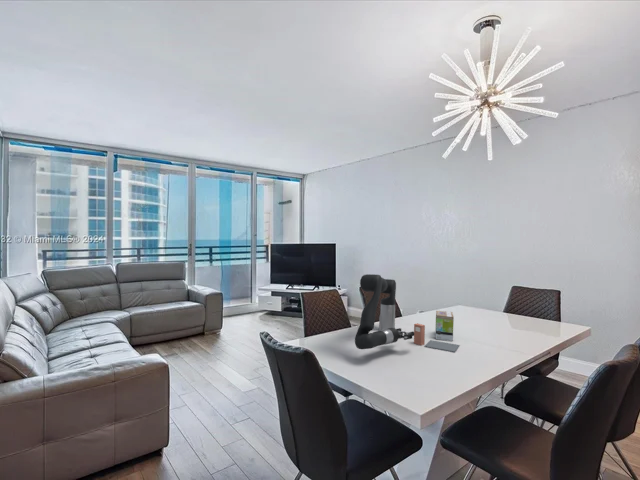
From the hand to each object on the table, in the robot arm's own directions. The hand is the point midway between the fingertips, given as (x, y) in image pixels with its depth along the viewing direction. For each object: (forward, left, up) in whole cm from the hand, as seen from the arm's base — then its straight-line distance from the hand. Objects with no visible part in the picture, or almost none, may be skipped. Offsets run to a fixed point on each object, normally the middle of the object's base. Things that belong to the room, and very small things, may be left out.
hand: (407, 331), depth 185 cm
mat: (+16, +13, -9) cm, 22 cm away
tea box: (+13, +33, -9) cm, 36 cm away
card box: (+4, +11, -9) cm, 14 cm away
